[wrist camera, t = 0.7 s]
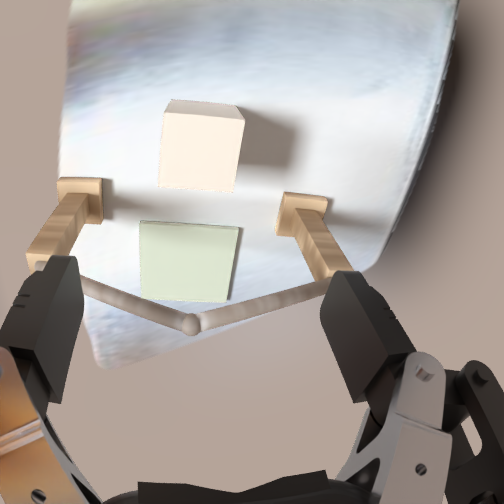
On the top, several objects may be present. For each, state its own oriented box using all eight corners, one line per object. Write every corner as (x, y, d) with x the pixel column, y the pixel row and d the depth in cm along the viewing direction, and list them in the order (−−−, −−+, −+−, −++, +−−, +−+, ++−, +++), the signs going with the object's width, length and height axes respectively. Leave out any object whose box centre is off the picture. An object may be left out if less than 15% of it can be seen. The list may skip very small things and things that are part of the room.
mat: (140, 220, 28) (139, 223, 28) (238, 227, 30) (238, 229, 30) (142, 295, 33) (141, 298, 33) (225, 299, 35) (226, 302, 35)
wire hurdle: (60, 177, 24) (-22, 286, 12) (324, 196, 30) (402, 305, 18) (64, 217, 26) (0, 336, 15) (313, 233, 32) (375, 349, 20)
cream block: (171, 99, 23) (163, 112, 18) (234, 105, 24) (245, 120, 19) (165, 158, 25) (157, 187, 20) (225, 163, 26) (232, 192, 22)
